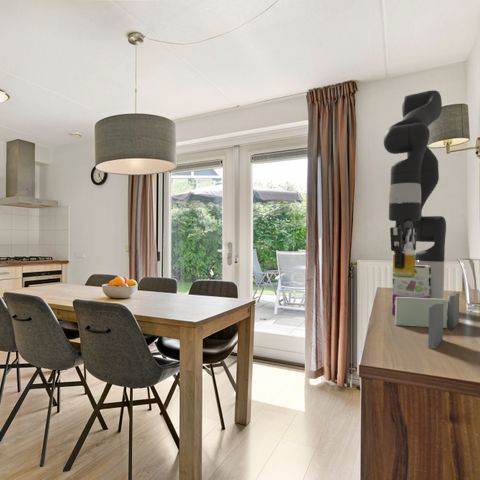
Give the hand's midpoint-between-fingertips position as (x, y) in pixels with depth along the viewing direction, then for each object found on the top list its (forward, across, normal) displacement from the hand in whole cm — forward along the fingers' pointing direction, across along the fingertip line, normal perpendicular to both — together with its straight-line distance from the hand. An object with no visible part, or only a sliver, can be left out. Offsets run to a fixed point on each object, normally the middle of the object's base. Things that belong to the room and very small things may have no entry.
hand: (403, 267), depth 91 cm
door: (+17, -12, +1) cm, 21 cm away
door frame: (+17, -9, +8) cm, 21 cm away
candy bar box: (+18, -26, -6) cm, 32 cm away
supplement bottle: (+3, 0, 0) cm, 3 cm away
